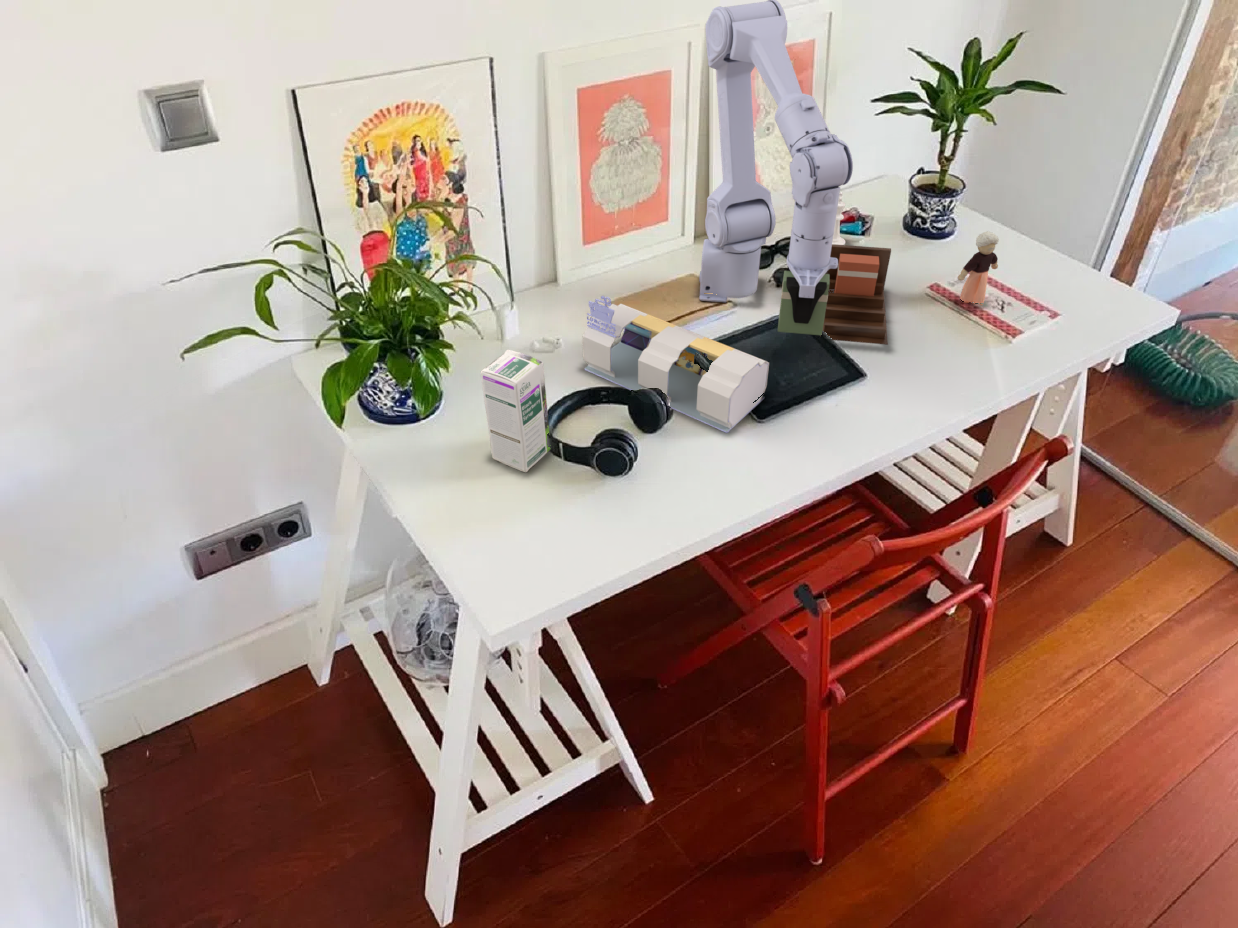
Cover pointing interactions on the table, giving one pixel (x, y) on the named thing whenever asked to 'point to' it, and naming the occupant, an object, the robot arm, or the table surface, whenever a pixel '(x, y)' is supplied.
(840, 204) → the chess piece
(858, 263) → the terracotta book
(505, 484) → the table surface
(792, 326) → the green book
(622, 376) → the diorama
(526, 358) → the syrup box
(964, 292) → the grandmother figurine
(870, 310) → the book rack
